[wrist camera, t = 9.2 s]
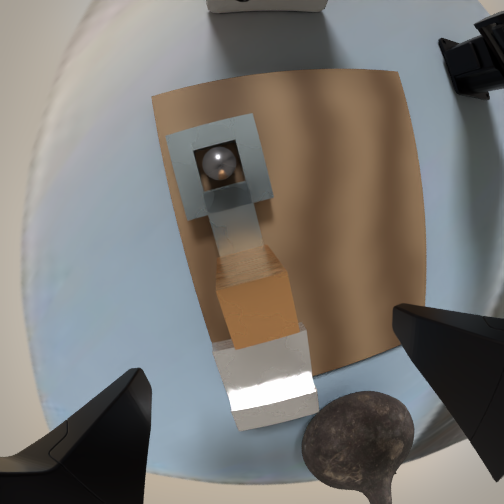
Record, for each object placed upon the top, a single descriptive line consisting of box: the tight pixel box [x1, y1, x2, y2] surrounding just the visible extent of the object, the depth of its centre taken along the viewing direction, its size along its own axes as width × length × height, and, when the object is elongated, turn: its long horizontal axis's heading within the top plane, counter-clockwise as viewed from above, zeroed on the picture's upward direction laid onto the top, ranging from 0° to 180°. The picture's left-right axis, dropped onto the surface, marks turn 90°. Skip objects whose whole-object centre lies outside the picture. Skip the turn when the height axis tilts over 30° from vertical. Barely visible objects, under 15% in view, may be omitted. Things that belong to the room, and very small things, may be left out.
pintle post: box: [202, 147, 236, 181], centre depth 16 cm, size 2×2×3 cm
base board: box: [152, 69, 426, 376], centre depth 20 cm, size 19×24×1 cm
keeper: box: [212, 322, 319, 431], centre depth 19 cm, size 6×7×5 cm
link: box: [165, 113, 300, 350], centre depth 15 cm, size 17×5×7 cm, turn 15°
